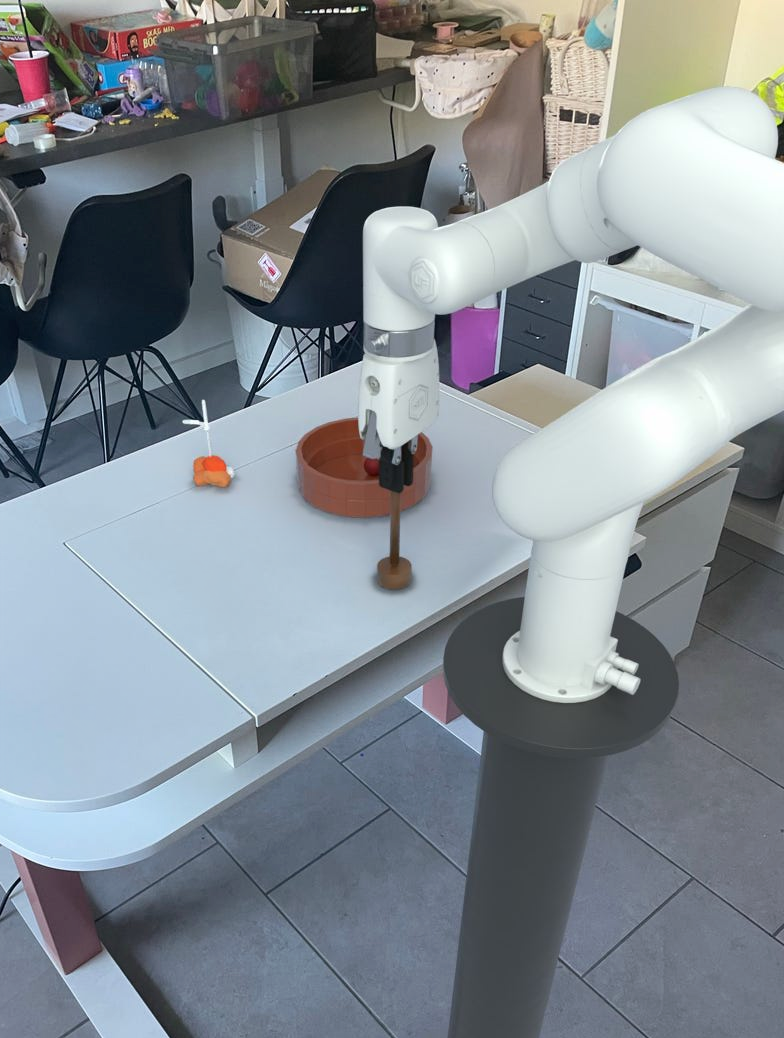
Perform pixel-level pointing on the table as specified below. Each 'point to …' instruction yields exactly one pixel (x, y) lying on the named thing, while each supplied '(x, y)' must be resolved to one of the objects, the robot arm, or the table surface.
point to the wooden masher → (394, 553)
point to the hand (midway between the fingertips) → (395, 484)
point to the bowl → (352, 472)
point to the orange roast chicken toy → (210, 462)
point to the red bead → (371, 466)
